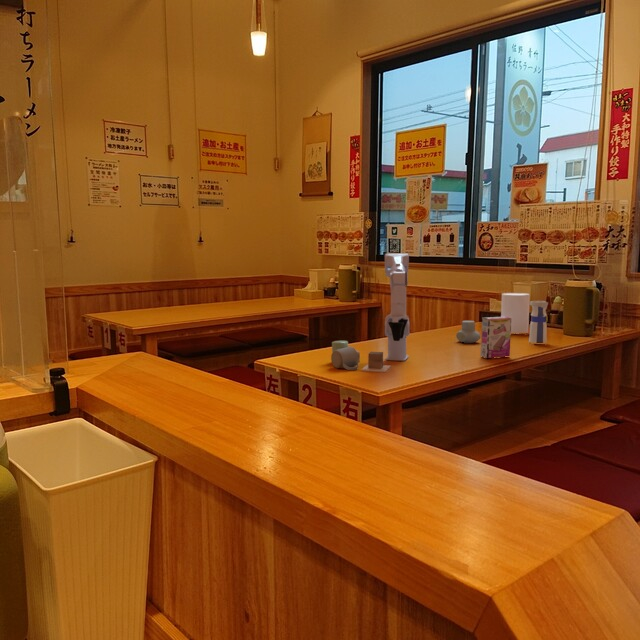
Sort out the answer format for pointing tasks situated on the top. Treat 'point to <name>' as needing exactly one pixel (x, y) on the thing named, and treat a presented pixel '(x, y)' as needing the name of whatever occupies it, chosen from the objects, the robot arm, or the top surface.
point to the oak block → (358, 356)
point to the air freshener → (468, 332)
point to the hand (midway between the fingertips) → (398, 339)
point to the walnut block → (375, 360)
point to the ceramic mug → (345, 358)
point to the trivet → (376, 369)
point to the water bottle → (538, 322)
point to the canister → (516, 311)
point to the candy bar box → (495, 337)
